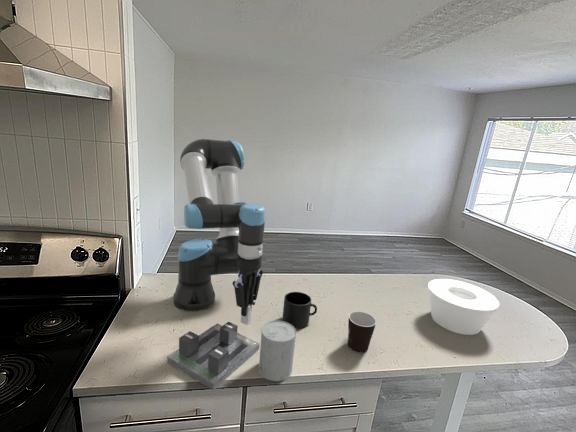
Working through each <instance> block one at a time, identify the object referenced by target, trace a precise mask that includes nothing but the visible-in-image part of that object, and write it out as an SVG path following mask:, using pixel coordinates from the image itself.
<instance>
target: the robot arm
mask: <svg viewBox="0 0 576 432" xmlns="http://www.w3.org/2000/svg"><path fill="white" fill-rule="evenodd" d="M179 160H180V161H179V162H180V168H181V170H182V171H184V178H185V185H186V192H187V199H188V204H186V205H184V207H183V209H184V210H183V219H184V221H183V222H184V226H185V228H187V229H194V230H202V229H203V230H205V229H218V231H219V232H218V233H219V234H218V236H217V237H216V238H215V243H213V242H212V240H211V239H209V238H203V237H202V238H201V237H200V238H192V239H190V240H186V241H184V242H183V243H182V244H180V246H179V248H178V256H177V261H178V268H177V269H178V274H177V275H178V280H177V281H178V282H177V285H176V288H175V291H174V293H173V295H172V296H173V297H172V298H173V299H172V301H173V303H172V304H173V305H174V307H175V308H177V309H179V310H181V311H184V312H185V311H186V312H198V311H202V310H203V311H204V310H206V309H208V308H210V307H212V306H213V305H214V304H215V302H216V293H215V290H214V286H213V283H212V276H217V275H230V274H238V275H237V276H238V278H237V280H233V281H232V283H231V284H232V285H233V287H234V295H235V302H236V306H237V307H239V308H240V315H241V316H240V323H242V324H244V325H245V326H249V325H250V324H251V321H252V320H251V318H252V312H253V311H252V307H253V306H254V305H256V302H255V301H257V299H258V294H259V289H260V284H261V279H262V276H263V274H264V271H263V270H261V268H262V263H263V256H262V255H263V249H264V248H263V245H264V238H265V236H264V234H265V226H266V225H265V223H266V209H265V207H264V206H262V205H260V204H257V203H246V202H244V201H240V195H239V193H240V192H239V181H238V176H239V175H240V174H241V171H242V170H243V169H244V166H245V153H244V149H243V146H242V145H241V143H239V142H238V141H233V140H229V139H228V140H222V139H221V140H220V139H219V140H218V139H208V138H201V139H200V138H199V139H195V140H193V141H191V142H190V143H188V144H187V145H186V146H184V149H183V150H182V152H181V153H180V158H179ZM207 169H209V170H211V171H210V172H211V174H212V176H214V177H215V183H216V184H215V185H216V186H215V187H216V196H217V197H216V198H217V199H216V200H217V203H216V204H215V203H214V200H213V196H212V191H211V186H210V182H209V178H208V174H207Z"/></svg>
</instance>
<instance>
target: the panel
mask: <svg viewBox="0 0 576 432" xmlns="http://www.w3.org/2000/svg"><path fill="white" fill-rule="evenodd" d="M221 326H223V325H222V324H219V323H215V324H214V325H212V326H211V327H209V328H207V329H206V330H205V331H203V332H202V333H200V334H199V349H198V350H197V351H195V352H194V353H193V354H191V355H190V356H188V357H187V356H186V355H184V354H182V353H180V352H179V348H178V349H176V350H175V351H173V352H172V353H170V354H169V355H167V357H166V358H167V359H166V361H167V363H168V364H169V365H171V366H172V367H174V368H176V369H178V370H179V371H181V372H182V373H184V374H185V375H188V376H189V377H190V378H193V380H195V381H197V382H199V383H200V384H202V385H204V386H206V388H209V389H210V390H212V391H214V390H215V389H217V388H218V386H220V385H221V384H222V383H223V382H224V381H225V380H227V379H228V378H229V377H230V376H231V375H232V374H234V373H235V372H236V371H237V370H238V369H239V368H240V367H242V365H243V364H244V363H245V362H246V361H248V360H249V359H250V358H251V357H252V356H254V354H256V353H257V352H258V351H260V345H261V342H260V343H259V342H257V341H255V340H254V339H252V338H249V337H247V336H245V335H243V334H241V333H239V332H237V339H236V340H234V341H233V342H232V343H230V344H229V345H227V344H225V343H223V342H221V341H219V335H220V327H221ZM218 346H220V347H222V348H224V349H226V350H228V351H229V358H228V366H227V367H226V368H224V369H223V370H222V371H221V372H220V373H219V374H217V373H215V372H214V371H212V370H210V369H208V355H209V353H210V352H212V351H213V350H214V349H216V348H217V347H218Z"/></svg>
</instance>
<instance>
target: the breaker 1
mask: <svg viewBox="0 0 576 432" xmlns="http://www.w3.org/2000/svg"><path fill="white" fill-rule="evenodd" d="M199 335H200V334H199ZM199 335H198V334H196V333H194V332H192V331H188V332H186V333H185V334H183V335H182V336H180V337H179V338H178V349H179V352H180V353H182V354H184V355H186V356H187V357H188V356H190V355H191V354H193V353H194V352H195V351H197V350H198V349H199Z"/></svg>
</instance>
